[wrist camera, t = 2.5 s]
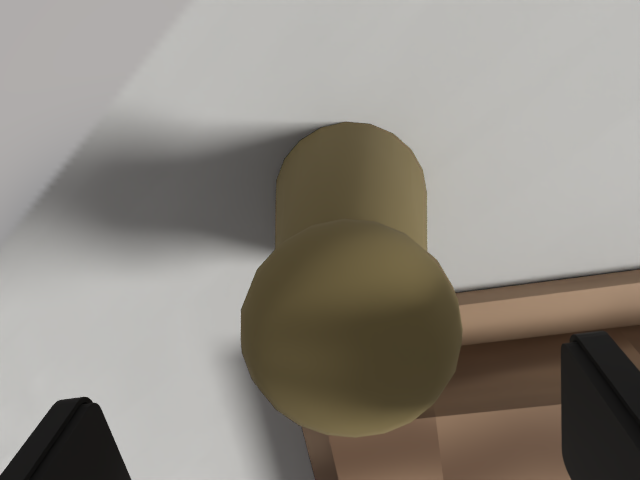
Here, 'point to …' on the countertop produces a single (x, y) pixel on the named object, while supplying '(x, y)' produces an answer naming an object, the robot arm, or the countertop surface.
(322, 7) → the countertop surface
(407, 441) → the post socket block
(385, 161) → the cork
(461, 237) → the countertop surface
